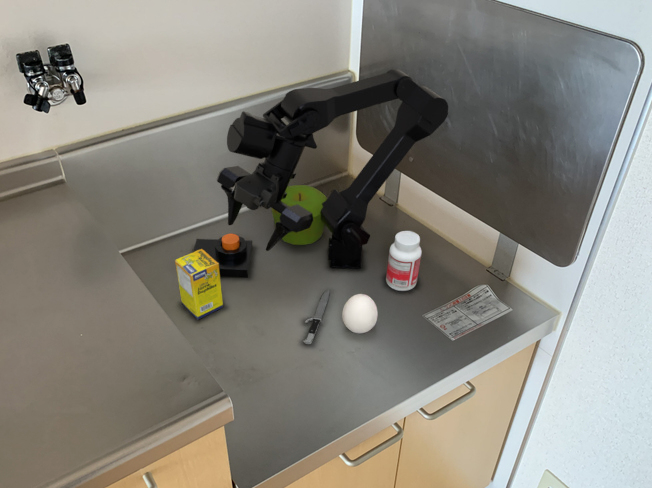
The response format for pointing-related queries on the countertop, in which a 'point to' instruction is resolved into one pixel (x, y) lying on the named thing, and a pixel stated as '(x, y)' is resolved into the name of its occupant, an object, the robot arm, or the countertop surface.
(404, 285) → the pill bottle
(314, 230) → the apple
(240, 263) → the black button base
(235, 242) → the button
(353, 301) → the egg
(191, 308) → the supplement box
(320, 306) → the knife
